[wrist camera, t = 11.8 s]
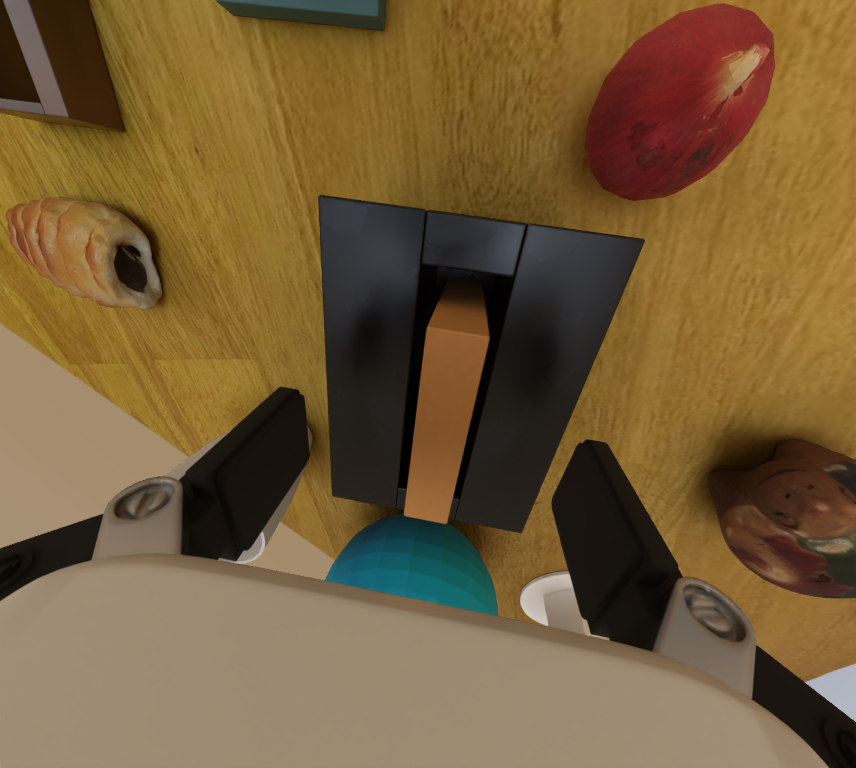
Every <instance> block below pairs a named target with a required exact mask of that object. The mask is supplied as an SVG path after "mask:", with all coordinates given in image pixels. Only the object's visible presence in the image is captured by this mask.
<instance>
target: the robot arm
mask: <svg viewBox="0 0 856 768" xmlns="http://www.w3.org/2000/svg"><path fill="white" fill-rule="evenodd" d="M309 456H310V449H309V440H308V430H307V420H306V410H305V400H304V396H303V395H301V394H300V392H299V390H297V389H291V388H285V387H279V388H278V389H277V390H276V391H274V392H273V393H272V394H271V395H270V396H269V397H268V398H267V399H266V400H264V401H263V402H262V403H261V404H260V405H259V406H258V407H257V408H256V409H254V410H253V411H252V412H251V413H250V414H249V415H248V416H247V417H246V418H244V419H243V420H242V421H241V422H240V423H239V424H238V425H237V426H236V427H234V428H233V429H232V430H231V431H230V432H229V433H228V434H227V435H226V436H224V437H223V438H222V439H221V440H220V441H219V442H218V443H217V444H216V445H214V446H213V447H212V448H211V449H210V450H209V451H208V452H207V453H205V454H204V455H203V456H202V457H201V458H200V459H199V460H198V461H197V462H195V463H194V464H193V465H192V466H191V467H190V468H189V469H188V470H187V471H185V473H186V474H185V475H184V476H182V477H181V478H180V479H179V480H177V479H176V478H172V477H154V478H149V479H146V480H143V481H140V482H137V483H135V484H133V485H131V486H129V487H127V488H125V489H124V490H122V491H121V492H120V493H118V494H117V495H116V496H115V497H114V498H113V499H112V500H111V501H110V502H109V503H108V505H107V507H106V509H105V511H104V514H102V515H98V516H95V517H92V518H89V519H86V520H83V521H80V522H77V523H74V524H71V525H68V526H66V527H62V528H59V529H57V530H53V531H51V532H47V533H44V534H41V535H38V536H35V537H33V538H30V539H27V540H24V541H21V542H18V543H15V544H12V545H9V546H6V547H3V548H1V549H0V768H856V722H855V721H854V720H852V719H851V718H850V717H848V716H847V715H846V714H845V713H843V712H842V711H841V710H839V709H838V708H837V707H836V706H834V705H833V704H832V703H830V702H829V701H828V700H826V699H825V698H824V697H823V696H821V695H820V694H819V693H817V692H816V691H815V690H814V689H812V688H811V687H810V686H809V685H807V684H806V683H805V682H803V681H802V680H801V679H800V678H798V677H797V676H796V675H794V674H793V673H792V672H791V671H789V670H788V669H787V668H785V667H784V666H783V665H782V664H780V663H779V662H778V661H776V660H775V659H774V658H773V657H771V656H770V655H769V654H767V653H766V652H765V651H764V650H762V649H761V648H760V647H758V646H757V645H756V638H755V632H754V630H753V628H752V626H751V623H750V621H749V620H748V618H747V617H746V616H745V614H744V613H743V612H742V610H741V609H740V608H739V607H738V606H737V605H736V604H735V603H734V602H733V601H732V600H731V599H730V598H729V597H728V596H727V595H725V594H724V593H723V592H722V591H720V590H719V589H718V588H716V587H714V586H713V585H711V584H709V583H707V582H706V581H703V580H700V579H698V578H695V577H683V576H682V574H681V573H680V571H679V569H678V564H677V562H676V561H675V559H674V557H673V556H672V554H671V552H670V550H669V549H668V547H667V545H666V544H665V542H664V540H663V538H662V537H661V535H660V533H659V532H658V530H657V528H656V526H655V525H654V523H653V521H652V520H651V518H650V516H649V514H648V513H647V511H646V509H645V508H644V506H643V504H642V502H641V501H640V499H639V497H638V495H637V494H636V492H635V490H634V489H633V487H632V485H631V483H630V482H629V480H628V478H627V477H626V475H625V473H624V471H623V470H622V468H621V466H620V465H619V463H618V461H617V459H616V458H615V456H614V454H613V453H612V451H611V449H610V447H609V446H608V444H607V443H605V442H599V441H594V440H585V441H584V442H583V443H579V444H578V445H577V447H576V449H575V451H574V453H573V455H572V457H571V459H570V462H569V464H568V466H567V468H566V470H565V472H564V474H563V476H562V478H561V481H560V483H559V485H558V487H557V489H556V491H555V493H554V495H553V498H552V511H553V515H554V518H555V522H556V526H557V530H558V533H559V537H560V541H561V545H562V548H563V552H564V556H565V559H566V563H567V567H568V571H569V574H570V578H571V582H572V586H573V589H574V593H575V597H576V601H577V604H578V608H579V612H580V615H581V616H582V618H583V619H584V620H587V623H588V626H589V630H590V634H592V635H597V636H601V637H606V638H610V640H611V641H609V640H605V639H600V638H596V637H592V636H587V635H583V634H579V633H574V632H570V631H566V630H561V629H557V628H552V627H547V626H542V625H538V624H533V623H528V622H523V621H519V620H514V619H509V618H504V617H500V616H495V615H490V614H485V613H481V612H476V611H471V610H466V609H462V608H457V607H452V606H447V605H442V604H437V603H433V602H428V601H423V600H418V599H413V598H408V597H403V596H398V595H394V594H389V593H384V592H379V591H374V590H369V589H364V588H359V587H354V586H349V585H344V584H339V583H334V582H329V581H324V580H319V579H314V578H309V577H304V576H299V575H294V574H289V573H284V572H279V571H274V570H269V569H264V568H259V567H253V566H248V565H242V564H237V563H231V562H226V561H220V560H218V559H219V558H221V559H226V560H231V561H237V560H238V558H239V557H240V555H241V554H242V553H243V551H247V550H249V549H250V548H251V547H252V545H253V544H254V542H255V541H256V539H257V538H258V536H259V535H260V533H261V532H262V530H263V529H264V527H265V526H266V524H267V523H268V521H269V520H270V518H271V517H272V515H273V514H274V512H275V511H276V509H277V508H278V506H279V505H280V503H281V502H282V500H283V499H284V497H285V496H286V494H287V493H288V491H289V490H290V488H291V487H292V485H293V484H294V482H295V481H296V479H297V478H298V476H299V475H300V473H301V472H302V470H303V469H304V467H305V466H306V464H307V462H308V460H309Z"/></svg>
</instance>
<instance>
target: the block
mask: <svg viewBox="0 0 856 768" xmlns="http://www.w3.org/2000/svg"><path fill="white" fill-rule="evenodd" d="M216 1H217V2H218V3H219V4H220V5H221V6H223V7H224V8H225V9H226V10H227V11H228V12H230V13H231V14H232V15H240V16H249V17H259V18H269V19H279V20H288V21H298V22H308V23H317V24H327V25H337V26H347V27H356V28H366V29H376V30H384V26H385V0H216Z"/></svg>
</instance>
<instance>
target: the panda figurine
mask: <svg viewBox="0 0 856 768" xmlns="http://www.w3.org/2000/svg"><path fill="white" fill-rule="evenodd" d="M520 603H521V607H522V609H523V611H524V612H525V613H526V614H527V615H528V616H529V617H530V618H532V619H533V620H535V621H537V622H539V623H541V624H543V625H546V626H548V627H552V628H557V629H561V630H566V631H570V632H574V633H579V634H583V635H587V636H592V637H596V638H600V639H605V640H609V639H608V638H606V637H601V636H597V635H592V634H590V630H589V626H588V623H587V620H584V619H583V618H582V616H581V615H580V612H579V608H578V604H577V601H576V597H575V593H574V589H573V586H572V582H571V578H570V574H569V571H561V572H553V573H549V574H545V575H542V576H539V577H537V578H535V579H533V580H532V581H530V582H529V583H527V584H526V585H525V586H524V588H523V589H522V591H521V594H520Z"/></svg>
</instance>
